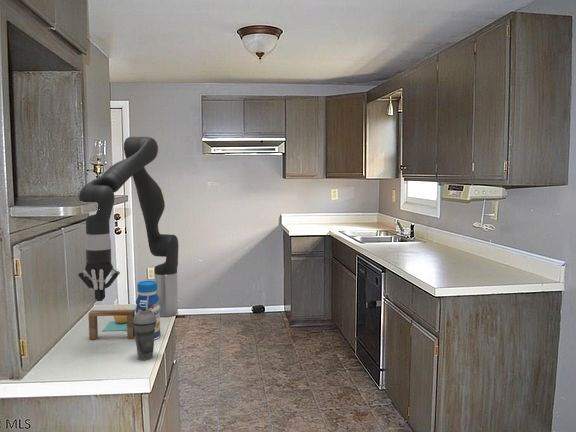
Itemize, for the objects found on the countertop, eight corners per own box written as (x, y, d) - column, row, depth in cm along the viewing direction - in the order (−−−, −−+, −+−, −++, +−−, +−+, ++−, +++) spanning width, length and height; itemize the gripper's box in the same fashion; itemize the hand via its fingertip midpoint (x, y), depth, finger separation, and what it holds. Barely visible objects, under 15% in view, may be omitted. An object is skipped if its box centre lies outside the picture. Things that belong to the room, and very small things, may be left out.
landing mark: (111, 321, 190) (111, 320, 190) (142, 320, 191) (142, 320, 191) (101, 331, 178) (101, 330, 178) (135, 330, 179) (135, 329, 179)
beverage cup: (136, 353, 156) (135, 292, 154) (159, 353, 156) (158, 292, 154) (130, 362, 149) (129, 298, 147) (154, 361, 149) (153, 298, 147)
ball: (115, 305, 189) (112, 311, 183) (131, 305, 190) (128, 311, 184) (115, 319, 190) (112, 326, 185) (131, 319, 191) (128, 326, 185)
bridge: (92, 337, 171) (91, 310, 170) (135, 336, 172) (134, 309, 171) (89, 340, 168) (88, 312, 167) (133, 339, 169) (132, 312, 169)
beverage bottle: (149, 332, 177) (148, 278, 175) (165, 336, 172) (164, 281, 170) (130, 338, 170) (129, 283, 168) (147, 343, 165) (146, 286, 163)
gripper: (122, 245, 159) (123, 297, 160) (81, 246, 158) (82, 298, 159) (116, 249, 151) (117, 303, 153) (72, 249, 150) (74, 304, 152)
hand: (100, 300), depth 156 cm, fingers closed
